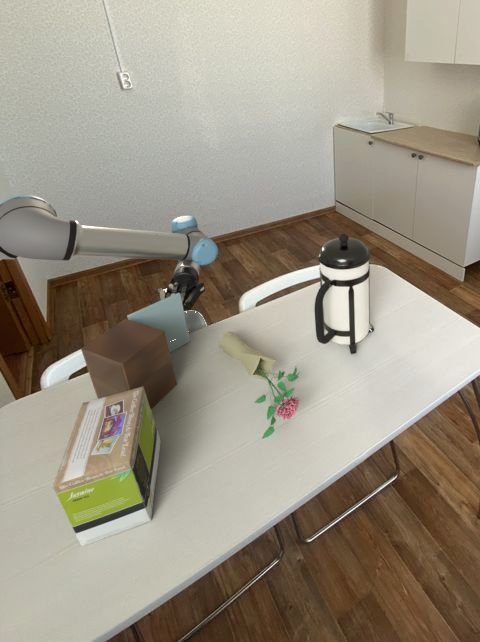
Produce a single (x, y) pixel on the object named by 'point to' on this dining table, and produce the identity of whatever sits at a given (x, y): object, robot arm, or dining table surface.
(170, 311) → the door
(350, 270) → the coffee press
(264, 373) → the flower vase
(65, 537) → the dining table surface
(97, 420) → the tea box
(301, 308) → the dining table surface
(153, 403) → the cabinet
